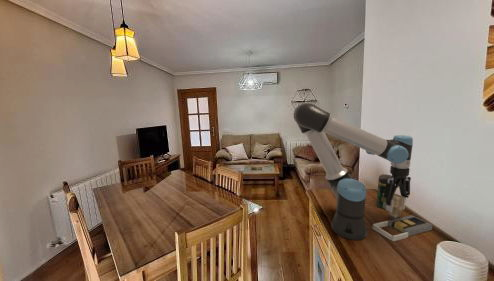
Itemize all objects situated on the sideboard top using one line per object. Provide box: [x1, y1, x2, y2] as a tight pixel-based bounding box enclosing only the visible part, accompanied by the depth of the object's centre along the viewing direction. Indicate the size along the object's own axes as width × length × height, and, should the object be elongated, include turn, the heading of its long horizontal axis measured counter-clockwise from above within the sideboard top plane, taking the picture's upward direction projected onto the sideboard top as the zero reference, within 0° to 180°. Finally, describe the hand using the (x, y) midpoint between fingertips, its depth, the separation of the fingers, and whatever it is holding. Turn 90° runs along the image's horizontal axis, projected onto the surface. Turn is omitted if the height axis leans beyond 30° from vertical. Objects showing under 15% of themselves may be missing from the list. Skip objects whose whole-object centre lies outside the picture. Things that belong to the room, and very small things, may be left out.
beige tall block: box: [388, 193, 403, 220], centre depth 103 cm, size 4×4×13 cm
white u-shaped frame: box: [371, 220, 409, 242], centre depth 92 cm, size 9×10×2 cm
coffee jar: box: [376, 173, 394, 210], centre depth 116 cm, size 10×8×19 cm
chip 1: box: [394, 221, 408, 233], centre depth 94 cm, size 3×4×3 cm
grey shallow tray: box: [387, 214, 433, 237], centre depth 96 cm, size 16×9×3 cm, turn 107°
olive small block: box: [402, 219, 416, 228], centre depth 95 cm, size 3×4×3 cm
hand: (395, 209), depth 103 cm, fingers open, 8 cm apart
